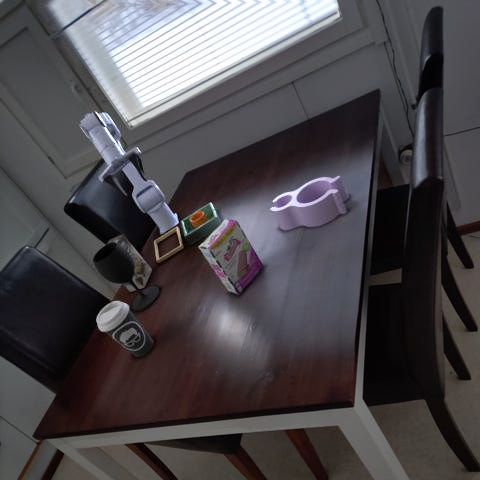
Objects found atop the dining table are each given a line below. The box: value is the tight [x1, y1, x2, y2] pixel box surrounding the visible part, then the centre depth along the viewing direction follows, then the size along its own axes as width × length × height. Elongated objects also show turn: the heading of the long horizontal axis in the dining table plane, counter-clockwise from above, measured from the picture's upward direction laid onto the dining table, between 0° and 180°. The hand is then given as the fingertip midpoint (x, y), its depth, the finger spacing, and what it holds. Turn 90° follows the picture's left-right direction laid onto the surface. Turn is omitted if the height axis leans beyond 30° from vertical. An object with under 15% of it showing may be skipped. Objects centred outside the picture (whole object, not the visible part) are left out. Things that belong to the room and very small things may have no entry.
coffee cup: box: [95, 300, 154, 358], centre depth 120 cm, size 10×10×15 cm
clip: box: [270, 175, 350, 231], centre depth 126 cm, size 20×12×7 cm, turn 74°
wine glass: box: [92, 242, 160, 312], centre depth 137 cm, size 10×10×20 cm
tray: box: [153, 226, 184, 264], centre depth 159 cm, size 15×10×2 cm
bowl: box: [190, 211, 207, 228], centre depth 154 cm, size 5×5×4 cm
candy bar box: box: [197, 218, 265, 296], centre depth 118 cm, size 11×5×16 cm, turn 134°
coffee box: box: [106, 234, 153, 293], centre depth 147 cm, size 9×6×16 cm
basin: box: [180, 202, 222, 246], centre depth 154 cm, size 13×13×4 cm
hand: (135, 188), depth 133 cm, fingers open, 7 cm apart
